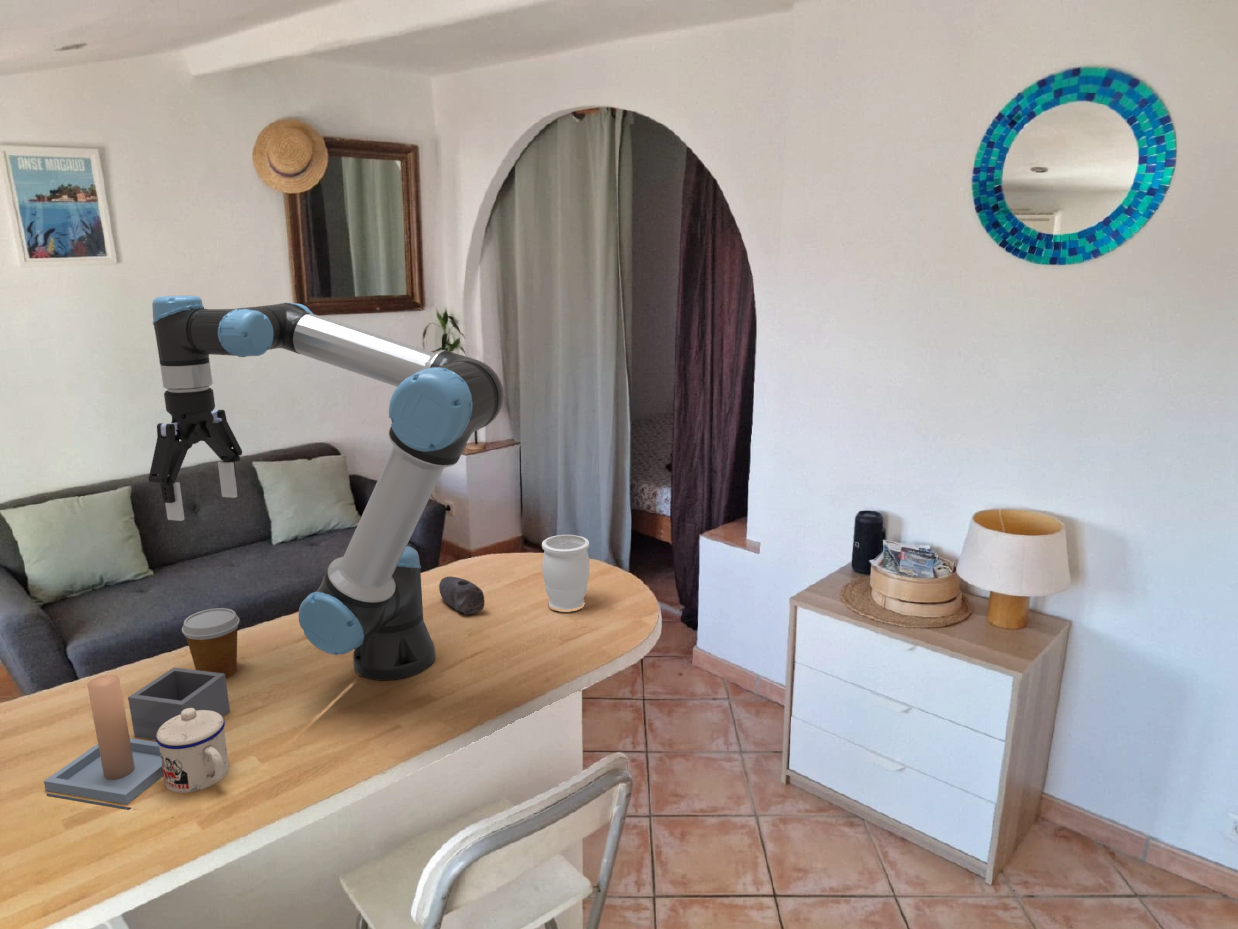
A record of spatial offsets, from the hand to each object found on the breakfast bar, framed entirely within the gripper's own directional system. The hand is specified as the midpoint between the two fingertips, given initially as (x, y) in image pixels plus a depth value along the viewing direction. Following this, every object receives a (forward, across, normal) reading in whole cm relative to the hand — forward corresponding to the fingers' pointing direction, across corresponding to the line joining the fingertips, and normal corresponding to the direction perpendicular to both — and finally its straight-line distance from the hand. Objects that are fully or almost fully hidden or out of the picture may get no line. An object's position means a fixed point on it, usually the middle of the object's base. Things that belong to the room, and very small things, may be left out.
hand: (204, 508), depth 146 cm
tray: (+33, +30, +5) cm, 45 cm away
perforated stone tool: (+33, -38, +30) cm, 59 cm away
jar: (+33, -44, +53) cm, 76 cm away
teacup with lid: (+33, +29, +18) cm, 47 cm away
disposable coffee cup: (+33, +1, -1) cm, 33 cm away
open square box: (+33, +17, +5) cm, 37 cm away
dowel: (+32, +30, +5) cm, 44 cm away
